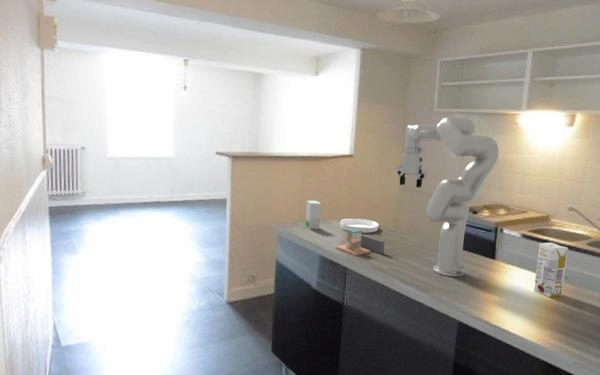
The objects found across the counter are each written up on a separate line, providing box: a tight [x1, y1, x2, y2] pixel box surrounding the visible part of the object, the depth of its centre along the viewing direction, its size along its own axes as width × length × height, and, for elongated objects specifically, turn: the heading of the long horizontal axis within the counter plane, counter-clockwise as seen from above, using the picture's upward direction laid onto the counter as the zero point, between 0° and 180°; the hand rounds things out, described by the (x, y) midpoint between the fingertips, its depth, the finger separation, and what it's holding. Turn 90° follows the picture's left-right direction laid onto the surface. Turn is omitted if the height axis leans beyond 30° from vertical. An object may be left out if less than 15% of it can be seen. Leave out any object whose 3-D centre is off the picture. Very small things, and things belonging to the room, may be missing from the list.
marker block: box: [345, 229, 362, 250], centre depth 208 cm, size 5×5×9 cm
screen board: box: [361, 233, 385, 255], centre depth 214 cm, size 22×2×6 cm, turn 38°
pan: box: [339, 218, 380, 234], centre depth 255 cm, size 24×27×4 cm
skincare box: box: [304, 200, 322, 230], centre depth 251 cm, size 8×7×16 cm
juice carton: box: [533, 242, 569, 298], centre depth 161 cm, size 8×9×19 cm
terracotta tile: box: [335, 243, 371, 256], centre depth 209 cm, size 14×10×1 cm
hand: (410, 185), depth 208 cm, fingers open, 9 cm apart
